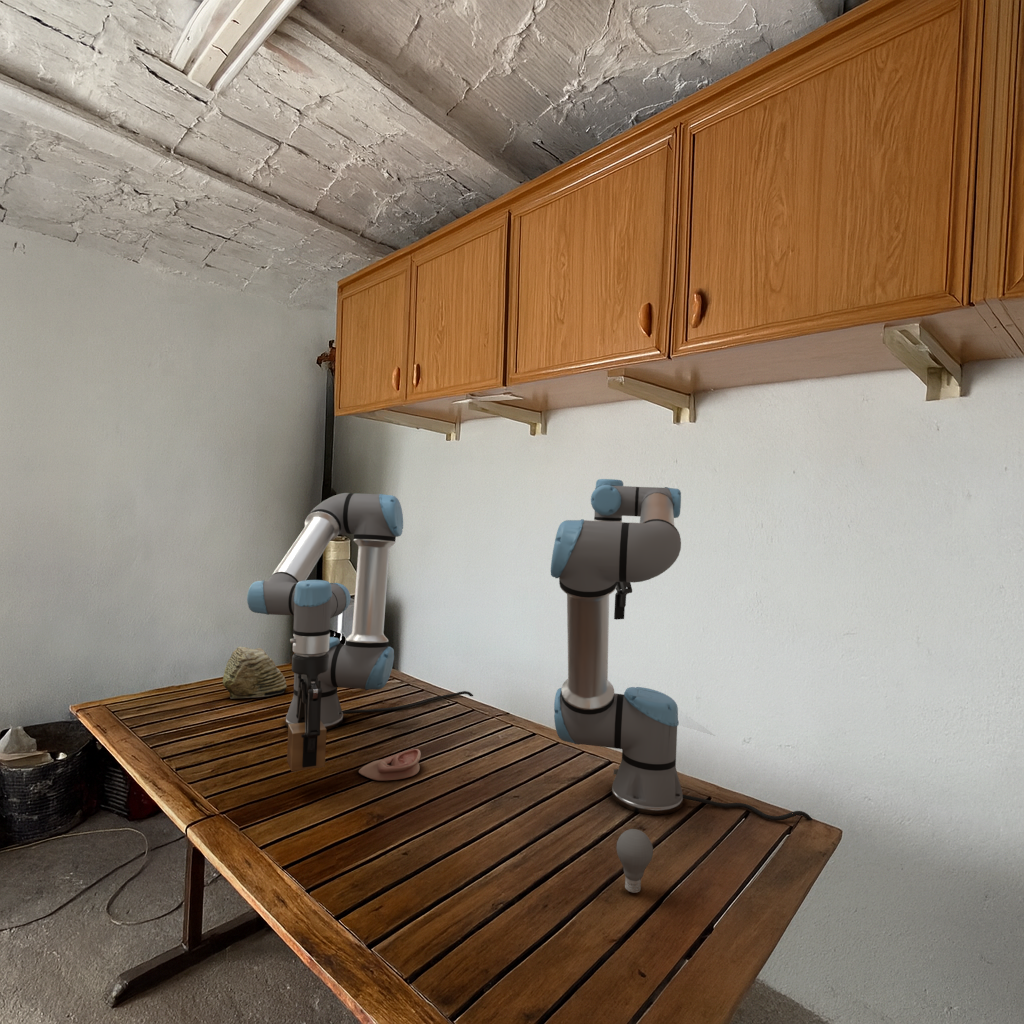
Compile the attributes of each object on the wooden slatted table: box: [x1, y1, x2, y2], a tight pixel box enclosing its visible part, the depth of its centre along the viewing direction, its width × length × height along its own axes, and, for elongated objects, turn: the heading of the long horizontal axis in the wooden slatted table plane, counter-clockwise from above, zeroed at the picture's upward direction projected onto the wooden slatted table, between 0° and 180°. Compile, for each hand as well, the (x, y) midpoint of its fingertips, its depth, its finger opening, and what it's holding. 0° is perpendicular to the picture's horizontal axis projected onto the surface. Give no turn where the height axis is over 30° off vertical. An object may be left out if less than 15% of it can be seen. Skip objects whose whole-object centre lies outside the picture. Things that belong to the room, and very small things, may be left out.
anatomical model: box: [358, 748, 422, 782], centre depth 147 cm, size 13×4×12 cm
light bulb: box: [615, 828, 654, 894], centre depth 106 cm, size 6×6×10 cm
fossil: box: [222, 646, 288, 699], centre depth 198 cm, size 9×18×15 cm, turn 132°
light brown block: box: [286, 721, 327, 773], centre depth 136 cm, size 6×7×8 cm
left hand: (306, 759), depth 136 cm, fingers closed on light brown block, 6 cm apart
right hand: (603, 614), depth 172 cm, fingers open, 13 cm apart
